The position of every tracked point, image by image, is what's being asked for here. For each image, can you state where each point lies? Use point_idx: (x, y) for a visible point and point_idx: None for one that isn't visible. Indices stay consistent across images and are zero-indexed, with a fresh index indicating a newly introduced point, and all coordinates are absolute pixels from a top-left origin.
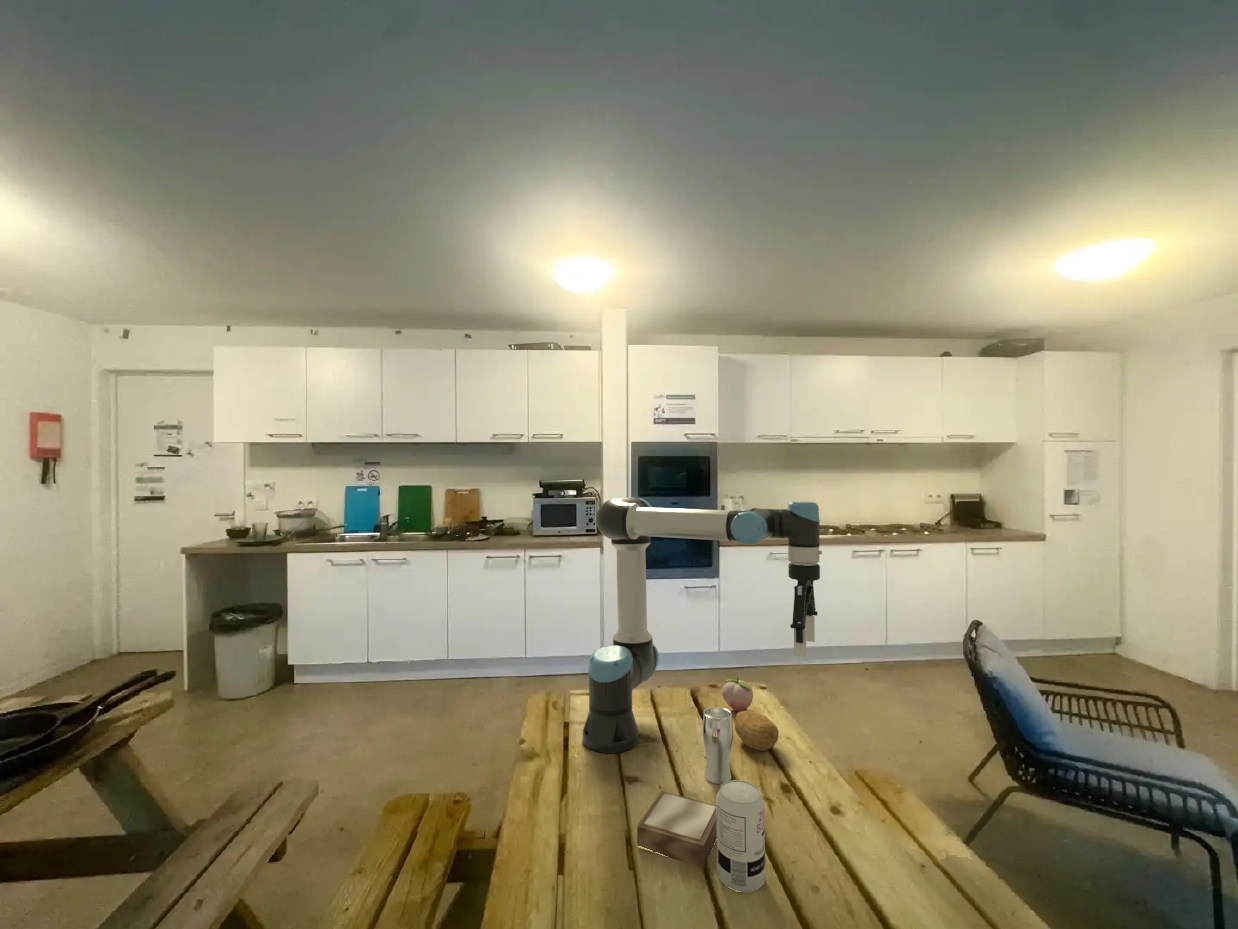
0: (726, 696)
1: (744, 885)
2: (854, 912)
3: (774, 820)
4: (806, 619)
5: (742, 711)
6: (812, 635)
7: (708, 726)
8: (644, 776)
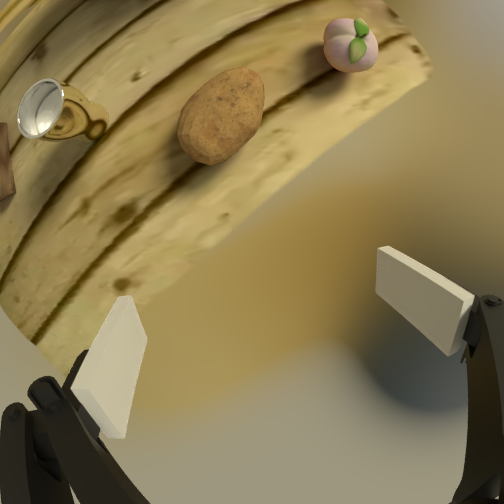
0: (326, 29)
1: None
2: (22, 328)
3: (56, 233)
4: (445, 309)
5: (243, 75)
6: (391, 298)
7: (27, 111)
8: (50, 56)
